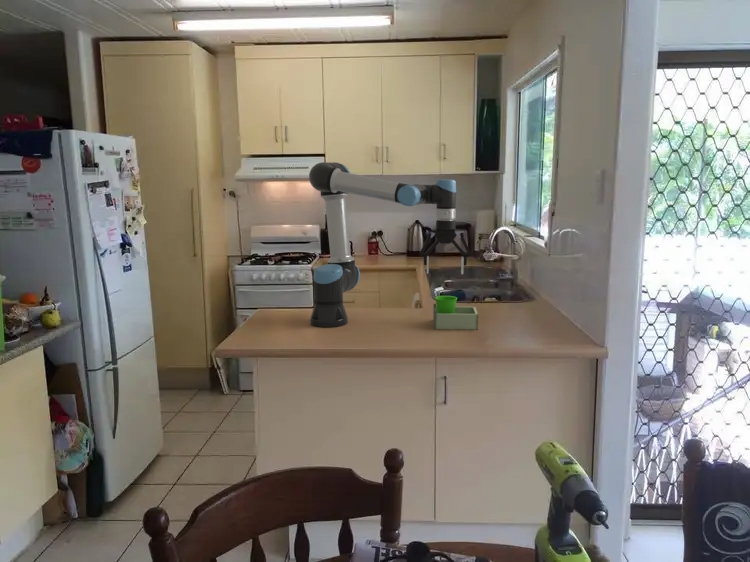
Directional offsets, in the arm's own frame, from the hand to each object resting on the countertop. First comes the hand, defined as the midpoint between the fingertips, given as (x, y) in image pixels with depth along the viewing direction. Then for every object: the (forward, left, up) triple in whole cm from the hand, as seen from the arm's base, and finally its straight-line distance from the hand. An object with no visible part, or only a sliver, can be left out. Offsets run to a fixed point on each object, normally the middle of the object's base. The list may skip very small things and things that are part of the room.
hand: (444, 273), depth 233 cm
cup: (+1, 0, -21) cm, 21 cm away
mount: (+4, -1, -21) cm, 21 cm away
